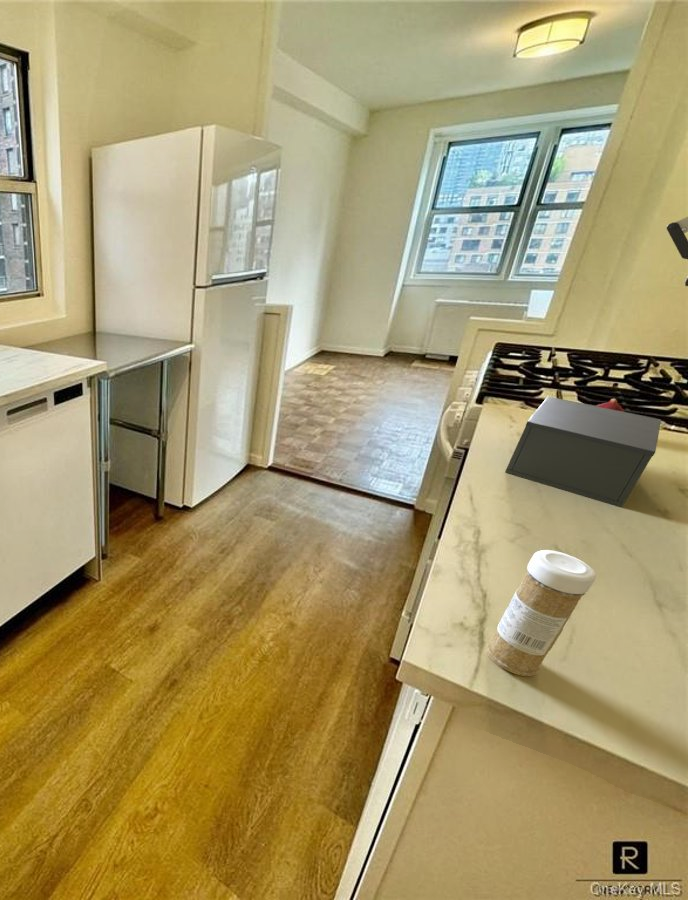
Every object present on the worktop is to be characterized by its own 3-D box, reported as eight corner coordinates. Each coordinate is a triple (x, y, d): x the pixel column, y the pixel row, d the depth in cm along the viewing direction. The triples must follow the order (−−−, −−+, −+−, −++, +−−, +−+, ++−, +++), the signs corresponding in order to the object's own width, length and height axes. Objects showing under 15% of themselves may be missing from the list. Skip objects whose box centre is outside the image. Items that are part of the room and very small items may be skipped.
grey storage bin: (621, 507, 80) (653, 454, 75) (504, 472, 90) (526, 424, 86) (630, 471, 91) (658, 423, 86) (525, 444, 101) (545, 400, 97)
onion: (621, 440, 103) (640, 405, 99) (587, 436, 105) (605, 402, 101) (606, 430, 108) (624, 396, 104) (574, 426, 110) (590, 393, 106)
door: (652, 456, 75) (655, 451, 74) (525, 425, 85) (527, 421, 85) (658, 423, 86) (661, 419, 86) (546, 399, 97) (547, 396, 96)
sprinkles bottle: (543, 664, 52) (604, 567, 46) (528, 685, 50) (590, 586, 44) (492, 636, 55) (543, 542, 49) (476, 655, 53) (527, 558, 47)
